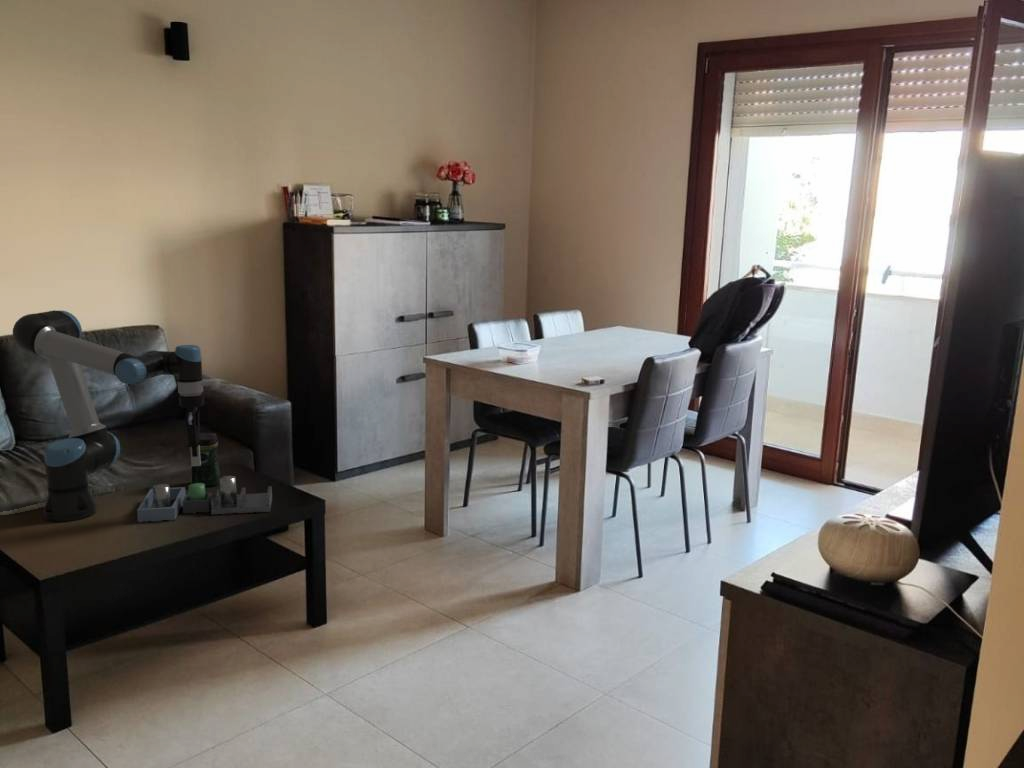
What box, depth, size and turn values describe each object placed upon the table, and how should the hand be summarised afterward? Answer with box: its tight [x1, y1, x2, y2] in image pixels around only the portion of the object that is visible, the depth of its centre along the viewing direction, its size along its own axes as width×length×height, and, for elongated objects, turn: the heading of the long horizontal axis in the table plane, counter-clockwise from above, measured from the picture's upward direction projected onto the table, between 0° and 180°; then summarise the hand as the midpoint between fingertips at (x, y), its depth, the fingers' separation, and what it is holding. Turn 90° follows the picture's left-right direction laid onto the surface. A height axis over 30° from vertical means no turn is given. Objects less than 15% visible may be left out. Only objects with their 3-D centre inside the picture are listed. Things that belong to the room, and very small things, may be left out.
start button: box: [188, 483, 206, 500], centre depth 286 cm, size 5×5×6 cm
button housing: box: [182, 492, 213, 514], centre depth 287 cm, size 8×8×4 cm
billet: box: [152, 483, 172, 508], centre depth 285 cm, size 5×5×8 cm
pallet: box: [210, 485, 273, 516], centre depth 290 cm, size 18×14×4 cm
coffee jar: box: [188, 432, 221, 487], centre depth 312 cm, size 10×8×19 cm
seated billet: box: [219, 475, 238, 504], centre depth 288 cm, size 5×5×8 cm
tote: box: [136, 486, 187, 523], centre depth 286 cm, size 11×22×4 cm, turn 12°
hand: (196, 465), depth 285 cm, fingers closed
